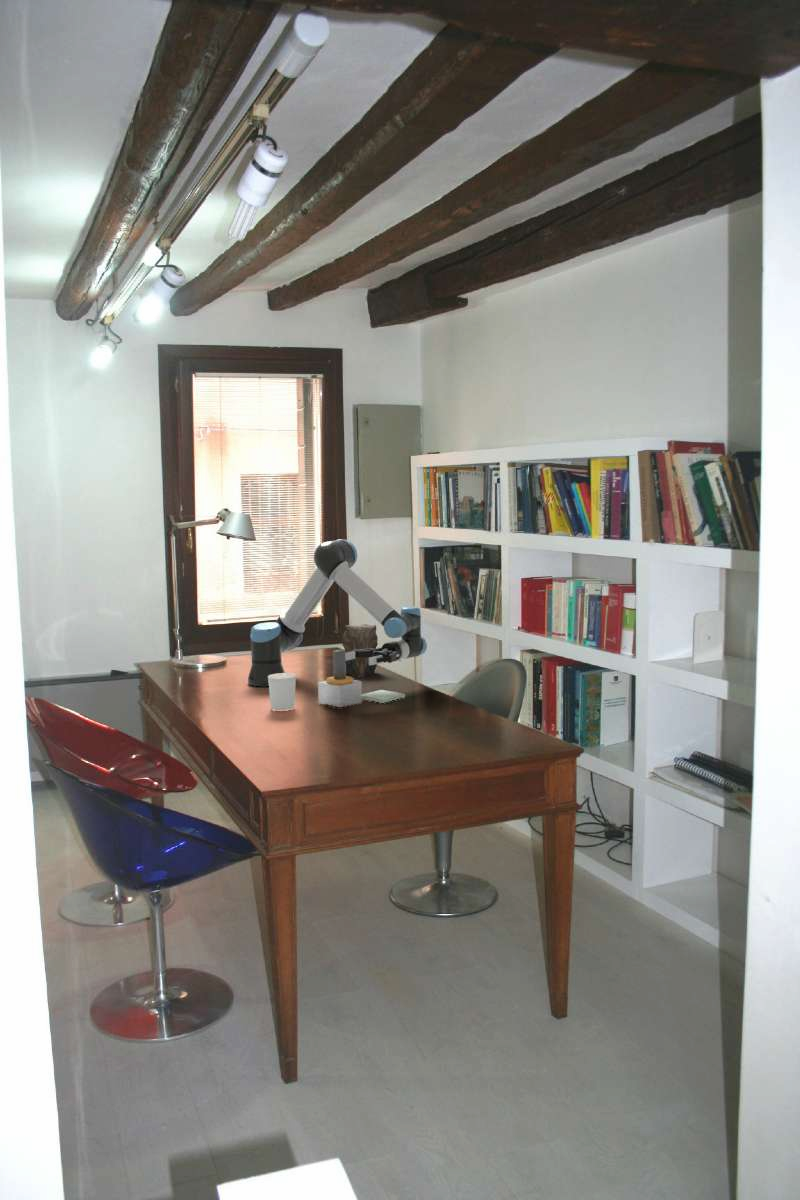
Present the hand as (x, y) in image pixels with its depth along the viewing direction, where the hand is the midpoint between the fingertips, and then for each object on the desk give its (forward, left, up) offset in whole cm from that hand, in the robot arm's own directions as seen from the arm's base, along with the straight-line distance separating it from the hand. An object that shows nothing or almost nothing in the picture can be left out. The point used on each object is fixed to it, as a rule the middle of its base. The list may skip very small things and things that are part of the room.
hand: (355, 659), depth 380 cm
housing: (-4, -7, -15) cm, 17 cm away
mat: (+9, +3, -15) cm, 18 cm away
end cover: (-4, -7, -13) cm, 15 cm away
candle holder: (-22, -18, -15) cm, 32 cm away
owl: (-10, +46, -15) cm, 50 cm away
